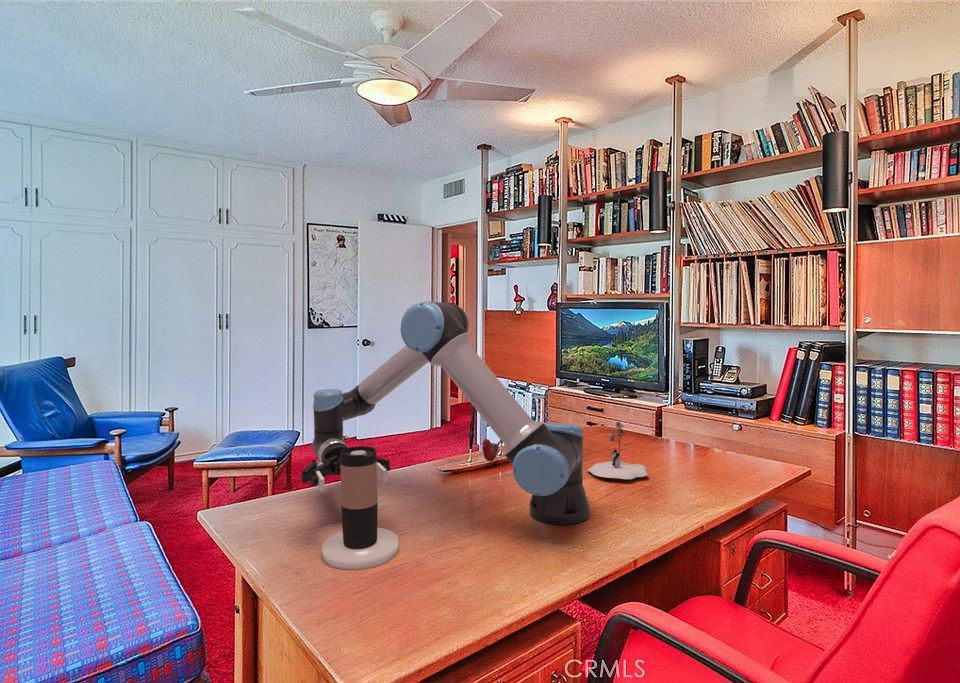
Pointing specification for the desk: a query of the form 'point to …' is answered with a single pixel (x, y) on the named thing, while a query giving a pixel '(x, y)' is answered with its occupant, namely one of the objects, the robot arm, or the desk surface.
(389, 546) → the white round disc
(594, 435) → the desk surface
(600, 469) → the figurine
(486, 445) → the decorative bird figurine
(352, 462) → the travel mug
